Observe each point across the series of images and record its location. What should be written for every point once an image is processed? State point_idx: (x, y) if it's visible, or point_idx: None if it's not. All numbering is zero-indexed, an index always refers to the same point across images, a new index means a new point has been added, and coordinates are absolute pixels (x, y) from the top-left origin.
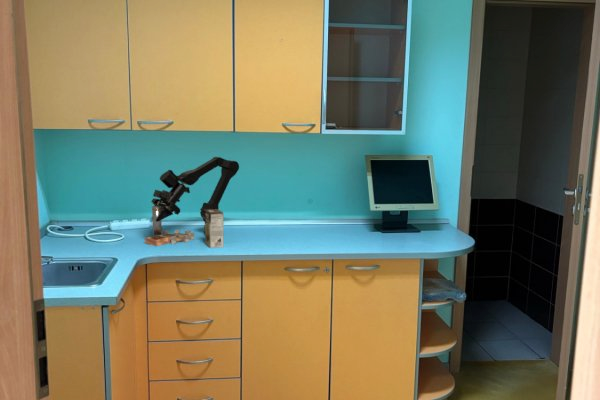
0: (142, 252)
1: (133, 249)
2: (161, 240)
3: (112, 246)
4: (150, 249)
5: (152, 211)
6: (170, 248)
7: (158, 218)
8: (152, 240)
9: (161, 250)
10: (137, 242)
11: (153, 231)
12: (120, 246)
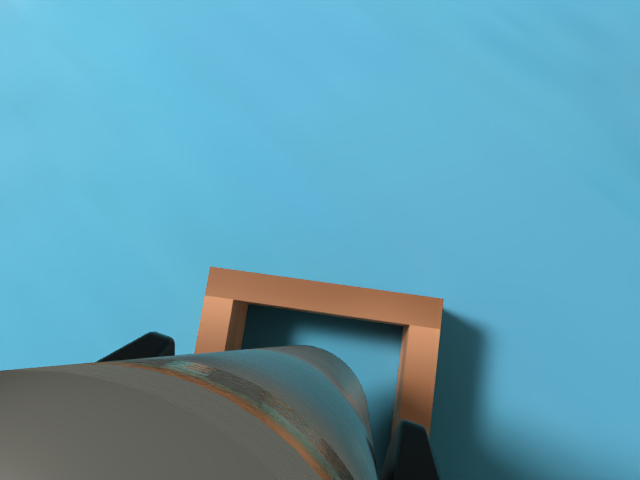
0: (156, 14)
1: (321, 42)
2: None
3: (615, 4)
4: (172, 137)
5: (251, 372)
6: (17, 285)
7: None
8: (276, 276)
9: (46, 170)
10: (550, 288)
11: (314, 349)
12: (543, 50)
